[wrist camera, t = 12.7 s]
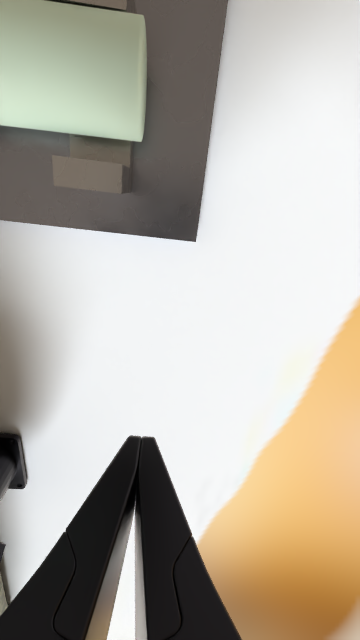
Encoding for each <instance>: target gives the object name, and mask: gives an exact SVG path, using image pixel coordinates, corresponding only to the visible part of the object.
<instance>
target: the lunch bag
mask: <svg viewBox="0 0 360 640" xmlns="http://www.w3.org/2000/svg"><path fill="white" fill-rule="evenodd" d="M7 607H8V604H7V601H6V597H5V592H4V587H3V582H2V577H1V573H0V615H1V614H2V613H3V612H4V611H5V609H6V608H7Z"/></svg>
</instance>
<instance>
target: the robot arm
mask: <svg viewBox="0 0 360 640" xmlns="http://www.w3.org/2000/svg"><path fill="white" fill-rule="evenodd" d="M26 484H27V478H26V472H25V465H24V459H23V453H22V447H21V440H20V437H19V436H17V435H15V434H0V502H1V500H2V498H3V496H4V494H5V493H6V491H7V489H23V488H25V486H26ZM135 501H136V503H135ZM134 509H135V640H242V639H241V637H240V635H239V633H238V631H237V629H236V627H235V625H234V623H233V621H232V619H231V618H230V616H229V614H228V612H227V610H226V608H225V606H224V604H223V602H222V600H221V598H220V596H219V594H218V592H217V590H216V589H215V586H214V584H213V582H212V580H211V578H210V576H209V574H208V572H207V570H206V567H205V565H204V562H203V560H202V558H201V555H200V553H199V551H198V548H197V545H196V543H195V540H194V538H193V537H192V533H191V530H190V528H189V525H188V522H187V520H186V517H185V515H184V512H183V509H182V507H181V504H180V502H179V499H178V497H177V494H176V491H175V489H174V486H173V484H172V481H171V478H170V476H169V473H168V471H167V468H166V466H165V463H164V460H163V458H162V455H161V453H160V450H159V447H158V445H157V442H156V440H155V438H154V437H146V436H144V437H142V438H141V437H140V436H129V437H128V438H127V439H126V441H125V442H124V444H123V445H122V447H121V448H120V450H119V451H118V453H117V454H116V456H115V457H114V459H113V460H112V462H111V463H110V465H109V466H108V468H107V469H106V471H105V472H104V474H103V475H102V476H101V478H100V479H99V481H98V482H97V484H96V485H95V487H94V488H93V490H92V491H91V493H90V494H89V496H88V497H87V499H86V500H85V502H84V503H83V505H82V506H81V508H80V509H79V511H78V512H77V514H76V515H75V516H74V518H73V519H72V521H71V522H70V524H69V525H68V527H67V528H66V532H64V533H63V534H62V536H61V537H60V538H59V540H58V541H57V543H56V544H55V546H54V547H53V549H52V550H51V552H50V553H49V554H48V556H47V557H46V559H45V560H44V561H43V563H42V564H41V566H40V567H39V568H38V569H37V571H36V572H35V573H34V575H33V576H32V577H31V578H30V580H29V581H28V582H27V583H26V585H25V586H24V587H23V589H22V590H21V591H20V592H19V593H18V595H17V596H16V597H15V598H14V600H13V601H12V602H11V603H10V604H9V606H8V607H7V608H6V609H5V611H4V612H3V613H2V614H1V615H0V640H107V635H108V631H109V626H110V621H111V617H112V612H113V608H114V603H115V598H116V594H117V589H118V584H119V580H120V575H121V571H122V566H123V561H124V557H125V552H126V548H127V543H128V538H129V534H130V529H131V525H132V520H133V515H134ZM5 545H6V544H4V543H2V542H0V561H1V558H2V555H3V552H4V549H5Z"/></svg>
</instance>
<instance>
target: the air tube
mask: <svg viewBox="0 0 360 640" xmlns="http://www.w3.org/2000/svg"><path fill="white" fill-rule="evenodd" d="M146 90H147V44H146V27H145V19H144V16H143V15H140V14H133V13H127V12H120V11H113V10H106V9H99V8H93V7H86V6H79V5H72V4H66V3H59V2H52V1H45V0H0V125H3V126H11V127H19V128H28V129H36V130H45V131H53V132H62V133H70V134H79V135H87V136H95V137H104V138H112V139H121V140H129V141H138V142H141V141H142V139H143V133H144V125H145V112H146Z"/></svg>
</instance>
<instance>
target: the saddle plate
mask: <svg viewBox="0 0 360 640" xmlns="http://www.w3.org/2000/svg"><path fill="white" fill-rule="evenodd" d="M45 1H52V2H59V3H66V4H72V5H79V6H86V7H93V8H99V9H106V10H113V11H120V12H127V13H133V14H140V15H143V16H144V19H145V27H146V44H147V90H146V112H145V125H144V133H143V139H142V141H141V142H138V141H129V140H121V139H112V138H104V137H95V136H87V135H79V134H70V133H62V132H53V131H45V130H36V129H28V128H19V127H11V126H3V125H0V220H4V221H13V222H22V223H31V224H40V225H49V226H58V227H67V228H76V229H85V230H94V231H103V232H112V233H121V234H130V235H139V236H148V237H157V238H166V239H175V240H184V241H193V242H196V236H197V229H198V221H199V214H200V206H201V199H202V191H203V184H204V176H205V169H206V161H207V154H208V146H209V139H210V131H211V123H212V116H213V108H214V101H215V93H216V86H217V78H218V71H219V63H220V56H221V48H222V41H223V33H224V25H225V18H226V10H227V3H228V0H45Z"/></svg>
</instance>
